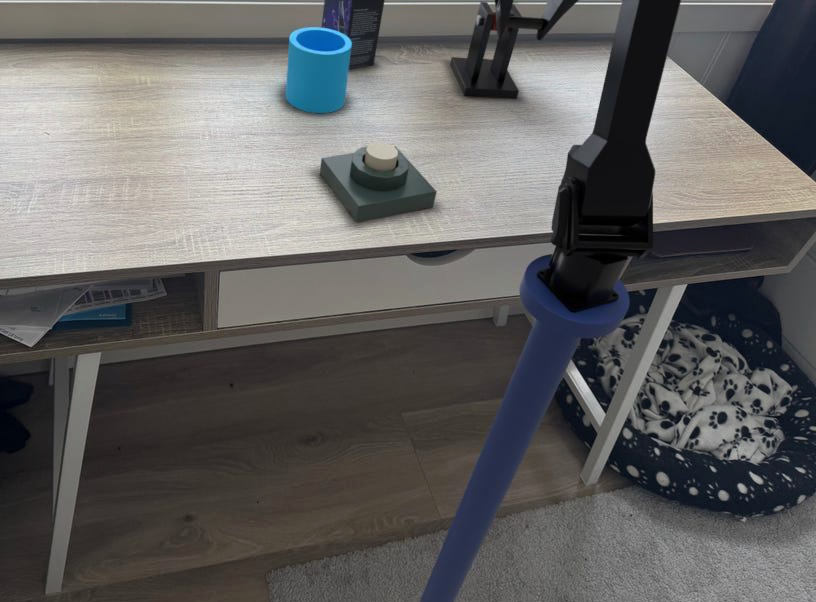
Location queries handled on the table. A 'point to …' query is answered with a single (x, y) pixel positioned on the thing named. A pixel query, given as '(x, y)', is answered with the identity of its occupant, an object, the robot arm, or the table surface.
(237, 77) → the table surface
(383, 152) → the button
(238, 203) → the table surface
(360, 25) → the box
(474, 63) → the bracket
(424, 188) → the button block
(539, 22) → the lever
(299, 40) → the mug
